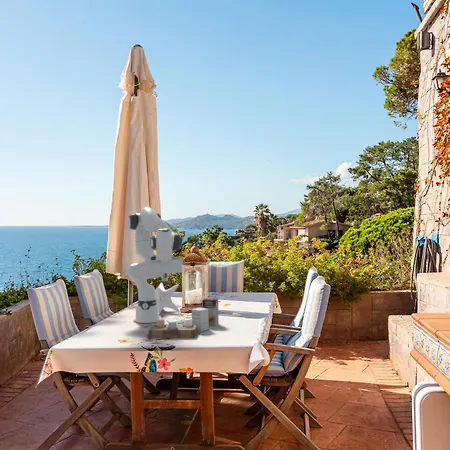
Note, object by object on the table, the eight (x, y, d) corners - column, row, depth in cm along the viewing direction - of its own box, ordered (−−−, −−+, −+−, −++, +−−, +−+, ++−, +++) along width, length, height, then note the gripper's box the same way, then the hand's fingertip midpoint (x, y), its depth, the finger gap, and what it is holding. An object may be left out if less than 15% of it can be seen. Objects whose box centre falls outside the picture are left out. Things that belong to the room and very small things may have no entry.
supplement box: (199, 328, 303) (199, 307, 303) (209, 329, 298) (208, 308, 298) (191, 330, 297) (191, 309, 297) (200, 331, 292) (200, 310, 292)
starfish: (179, 311, 364) (179, 284, 365) (158, 315, 350) (157, 287, 350) (162, 308, 378) (161, 282, 378) (140, 312, 364) (140, 285, 364)
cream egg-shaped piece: (184, 329, 290) (184, 318, 290) (192, 329, 290) (192, 318, 290) (183, 330, 286) (183, 320, 286) (191, 330, 285) (191, 320, 285)
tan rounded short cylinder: (157, 329, 291) (157, 319, 291) (165, 329, 291) (165, 319, 291) (156, 331, 286) (155, 320, 286) (164, 331, 286) (163, 320, 286)
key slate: (169, 331, 284) (169, 321, 284) (177, 331, 283) (177, 321, 283) (167, 333, 279) (167, 322, 279) (176, 333, 279) (175, 322, 279)
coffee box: (202, 325, 310) (201, 299, 310) (205, 323, 316) (204, 298, 316) (216, 326, 308) (215, 300, 308) (219, 324, 314) (218, 298, 314)
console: (153, 332, 293) (153, 324, 293) (197, 332, 291) (197, 324, 291) (148, 338, 278) (148, 330, 278) (194, 337, 276) (194, 329, 276)
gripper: (183, 256, 286) (183, 280, 286) (148, 257, 287) (148, 280, 287) (181, 256, 280) (182, 281, 280) (145, 257, 281) (146, 282, 281)
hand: (165, 281), depth 283 cm, fingers closed
